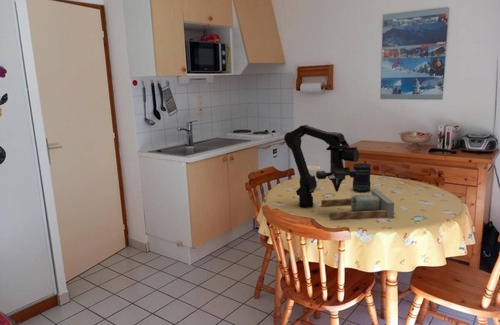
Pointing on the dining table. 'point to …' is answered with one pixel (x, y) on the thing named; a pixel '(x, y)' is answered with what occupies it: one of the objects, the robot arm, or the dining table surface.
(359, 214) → the guide rails
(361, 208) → the spool
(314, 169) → the foam cup
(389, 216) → the end stop
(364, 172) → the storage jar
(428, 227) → the dining table surface
